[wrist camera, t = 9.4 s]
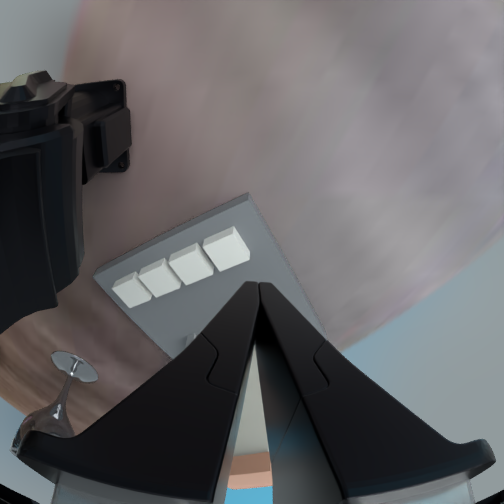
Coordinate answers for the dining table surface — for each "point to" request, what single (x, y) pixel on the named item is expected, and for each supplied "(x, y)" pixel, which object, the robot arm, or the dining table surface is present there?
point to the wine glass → (57, 400)
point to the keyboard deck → (199, 273)
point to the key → (251, 440)
